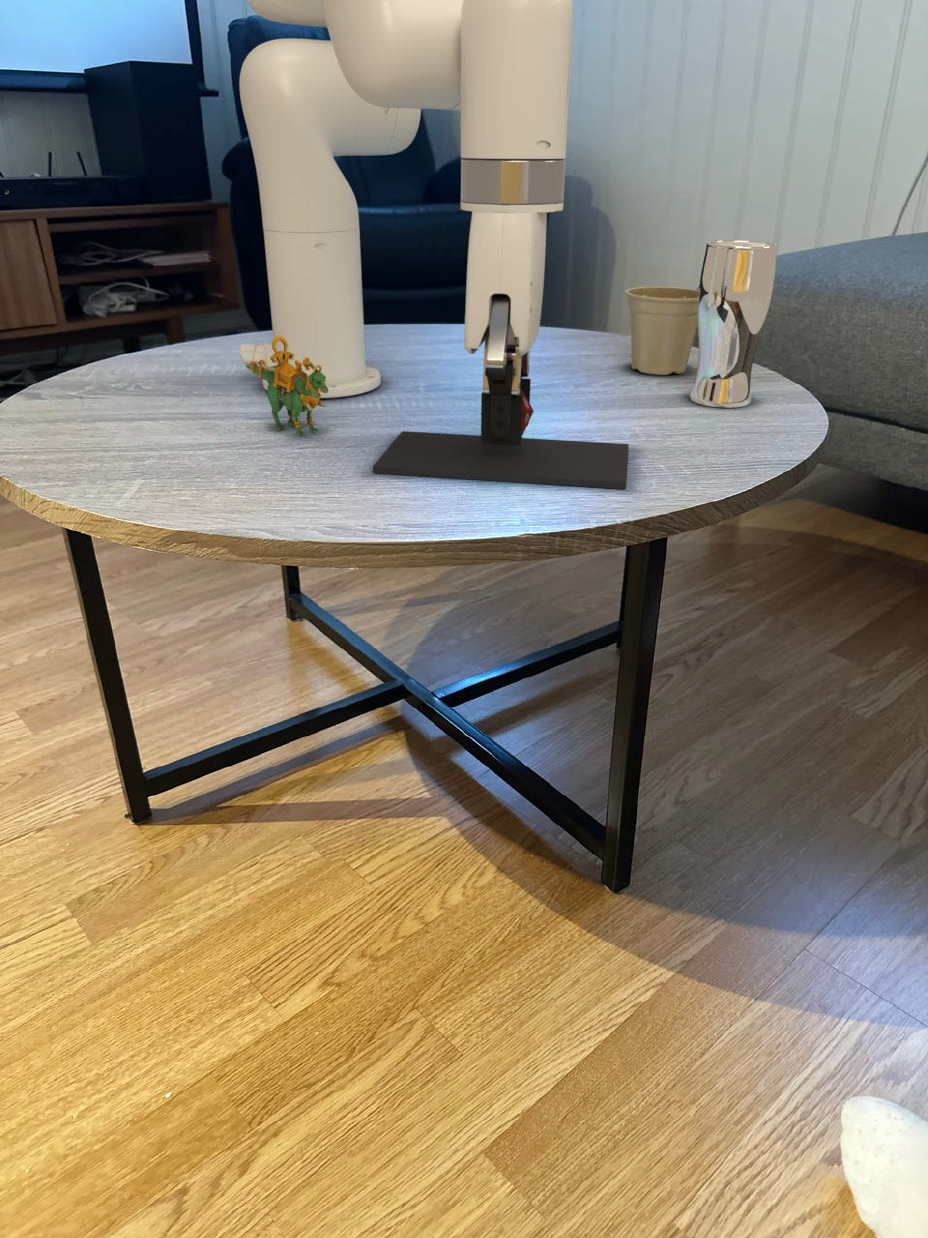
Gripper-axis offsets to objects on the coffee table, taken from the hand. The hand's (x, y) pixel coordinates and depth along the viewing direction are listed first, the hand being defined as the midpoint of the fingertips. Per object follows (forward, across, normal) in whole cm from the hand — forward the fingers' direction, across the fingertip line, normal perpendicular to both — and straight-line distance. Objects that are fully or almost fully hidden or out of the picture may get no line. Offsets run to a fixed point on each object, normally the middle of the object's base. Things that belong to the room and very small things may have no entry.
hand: (505, 432), depth 74 cm
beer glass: (+3, -24, +19) cm, 31 cm away
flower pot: (+3, -37, +13) cm, 39 cm away
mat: (+2, 0, 0) cm, 2 cm away
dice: (+1, 0, 0) cm, 1 cm away
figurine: (+3, -6, -21) cm, 22 cm away
